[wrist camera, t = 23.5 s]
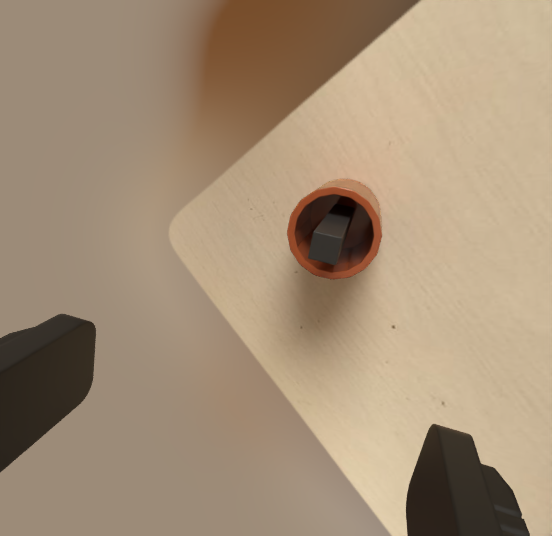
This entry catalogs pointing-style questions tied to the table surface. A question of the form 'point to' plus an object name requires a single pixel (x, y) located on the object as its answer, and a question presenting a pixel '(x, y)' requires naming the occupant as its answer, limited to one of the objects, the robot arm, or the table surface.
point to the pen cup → (359, 238)
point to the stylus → (331, 234)
